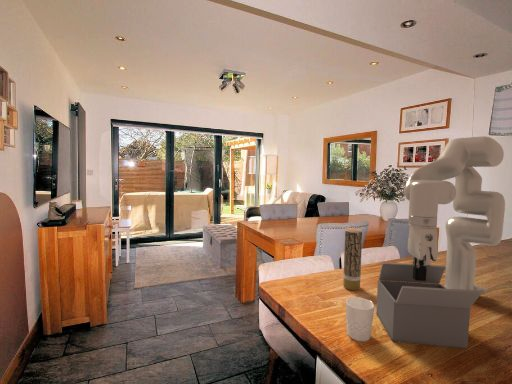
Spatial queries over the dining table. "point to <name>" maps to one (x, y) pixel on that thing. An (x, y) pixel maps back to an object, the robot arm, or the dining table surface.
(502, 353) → the dining table surface
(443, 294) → the flap
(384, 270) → the flap
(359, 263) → the paper tube
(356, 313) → the white cup
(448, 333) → the carton
